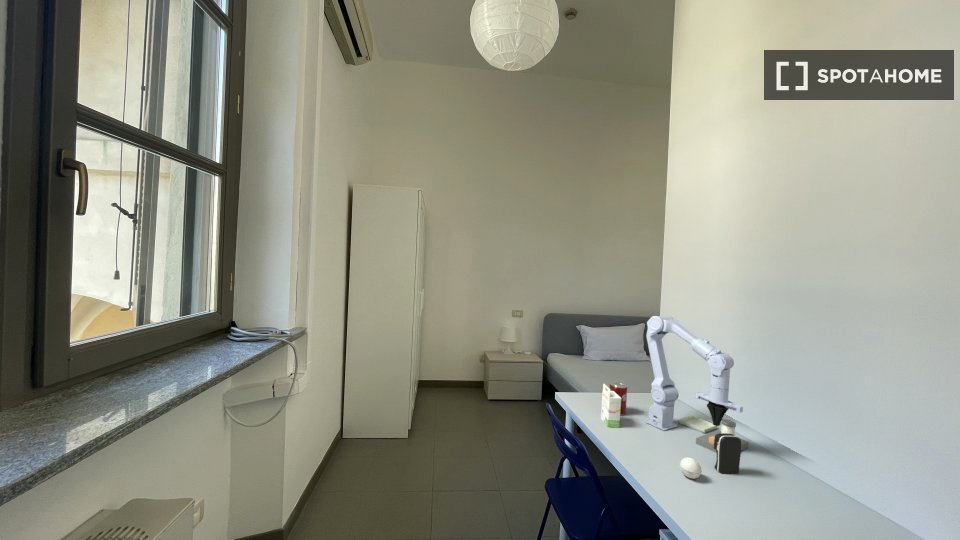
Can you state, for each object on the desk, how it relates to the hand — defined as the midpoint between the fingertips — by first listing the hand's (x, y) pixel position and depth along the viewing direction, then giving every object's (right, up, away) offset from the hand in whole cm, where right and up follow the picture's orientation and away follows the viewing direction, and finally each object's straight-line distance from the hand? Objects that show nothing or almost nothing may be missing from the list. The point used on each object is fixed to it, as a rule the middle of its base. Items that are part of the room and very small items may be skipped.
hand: (716, 425), depth 125 cm
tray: (+5, -9, +18) cm, 21 cm away
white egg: (-21, -7, -20) cm, 30 cm away
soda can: (-25, -7, +27) cm, 38 cm away
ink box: (-32, -6, +16) cm, 37 cm away
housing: (+4, -9, +3) cm, 10 cm away
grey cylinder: (+7, -9, +5) cm, 12 cm away
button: (0, -7, 0) cm, 7 cm away
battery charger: (-7, -8, -14) cm, 18 cm away
